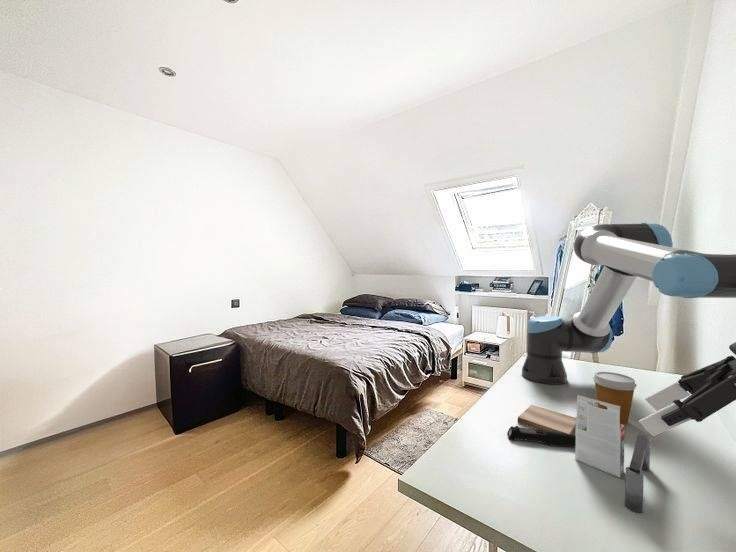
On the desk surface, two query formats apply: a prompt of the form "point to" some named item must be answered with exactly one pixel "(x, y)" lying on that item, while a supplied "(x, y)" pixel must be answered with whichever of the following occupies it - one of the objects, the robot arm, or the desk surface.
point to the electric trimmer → (541, 436)
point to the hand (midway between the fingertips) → (648, 415)
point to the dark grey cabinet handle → (637, 473)
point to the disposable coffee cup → (615, 392)
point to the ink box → (600, 436)
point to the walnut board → (547, 420)
